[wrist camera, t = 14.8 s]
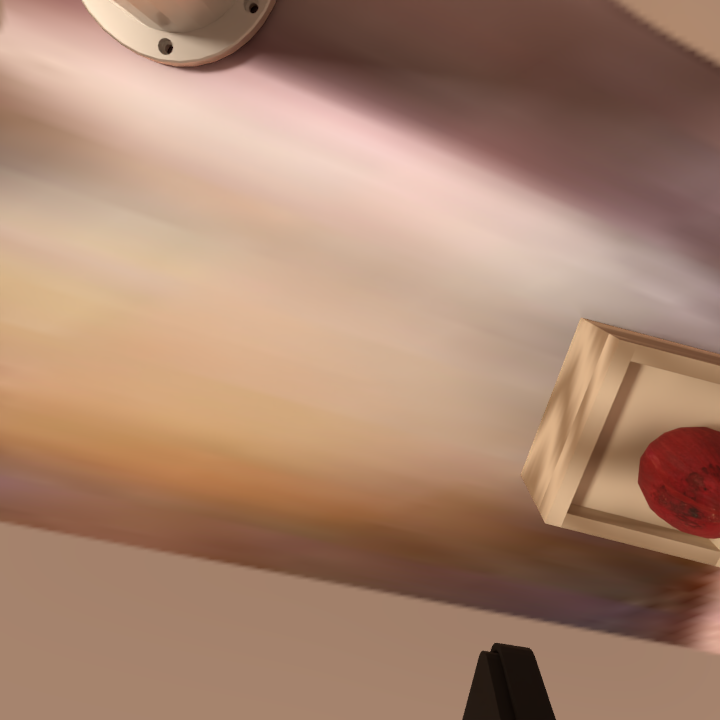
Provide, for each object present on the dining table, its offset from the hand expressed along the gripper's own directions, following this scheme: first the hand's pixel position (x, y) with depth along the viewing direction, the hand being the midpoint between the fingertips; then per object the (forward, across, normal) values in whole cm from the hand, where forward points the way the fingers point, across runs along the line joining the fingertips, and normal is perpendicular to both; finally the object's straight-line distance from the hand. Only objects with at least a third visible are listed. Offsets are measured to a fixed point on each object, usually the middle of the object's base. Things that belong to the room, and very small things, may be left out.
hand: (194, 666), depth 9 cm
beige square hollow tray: (+29, -21, +4) cm, 36 cm away
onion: (+24, -21, +4) cm, 32 cm away
